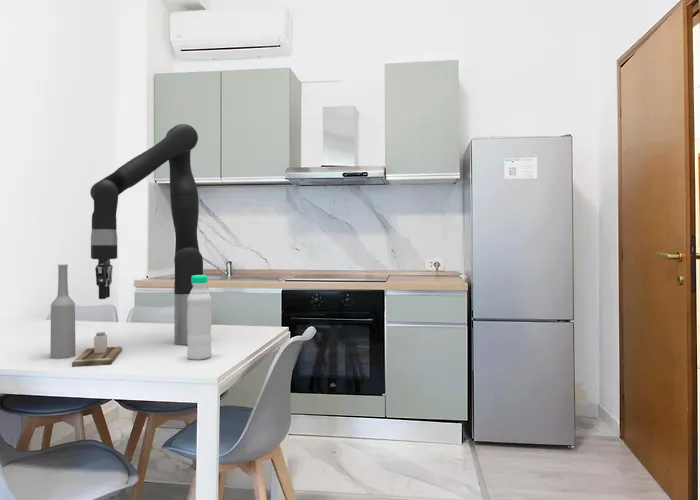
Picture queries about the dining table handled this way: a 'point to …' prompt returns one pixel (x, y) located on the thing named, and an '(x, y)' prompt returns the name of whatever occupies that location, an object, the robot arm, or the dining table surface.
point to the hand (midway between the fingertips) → (104, 297)
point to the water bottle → (199, 319)
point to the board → (97, 357)
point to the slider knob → (100, 342)
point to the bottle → (62, 319)
